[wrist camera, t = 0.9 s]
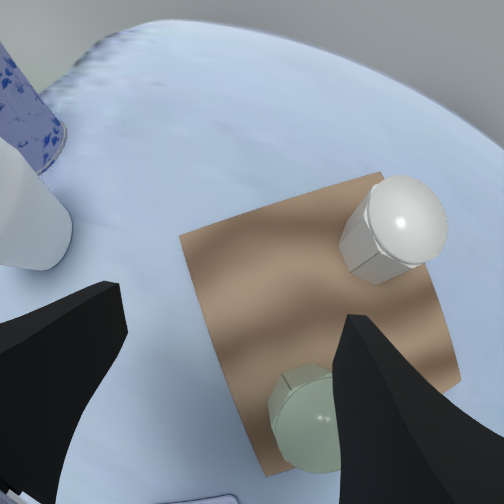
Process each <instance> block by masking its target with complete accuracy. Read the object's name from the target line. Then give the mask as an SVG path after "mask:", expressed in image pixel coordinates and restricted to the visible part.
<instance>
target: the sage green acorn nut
mask: <svg viewBox="0 0 504 504" xmlns="http://www.w3.org/2000/svg"><path fill="white" fill-rule="evenodd" d="M267 403H268V410H269V416H270V422H271V428H272V430H273V433H274V435H275V438H276V440H277V444H278V447H279V449H280V451H281V453H282V455H283V457H284V460H286V461H287V462H289V463H291V464H292V465H293V466H295V467H297V468H299V469H301V470H303V471H307V472H311V473H330V472H335V471H338V470H341V456H340V445H339V436H338V428H337V421H336V413H335V405H334V398H333V386H332V370H330V369H328V368H325V367H323V366H320V365H318V364H315V363H313V362H312V363H311V362H310V363H308V364H305V365H303V366H300V367H298V368H295V369H292V370H290V371H287V372H284V373H282V375H280V377H279V379H278V381H277V383H276V385H275V387H274V389H273V391H272V393H271V395H270V397H269V399H268V402H267Z"/></svg>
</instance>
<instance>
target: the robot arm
mask: <svg viewBox="0 0 504 504" xmlns="http://www.w3.org/2000/svg"><path fill="white" fill-rule="evenodd" d="M127 334H128V330H127V325H126V320H125V315H124V309H123V304H122V298H121V292H120V286H119V283H113V282H108V281H102V282H99V283H96V284H93V285H91V286H88V287H86V288H84V289H81V290H79V291H77V292H75V293H73V294H70V295H68V296H66V297H64V298H62V299H59V300H57V301H55V302H53V303H51V304H49V305H46V306H44V307H42V308H39V309H37V310H35V311H32V312H30V313H28V314H25V315H23V316H20V317H18V318H15V319H12V320H9V321H6V322H3V323H0V504H17V503H16V502H15V501H14V500H12V499H11V498H10V497H8V496H7V495H6V494H7V492H8V491H9V489H10V490H11V491H13V492H14V493H15V494H17V495H18V496H19V495H20V494H21V492H22V491H23V492H25V493H26V494H27V495H29V496H30V497H32V498H33V499H35V500H36V501H38V502H39V503H41V504H55V502H56V495H57V490H58V484H59V479H60V475H61V471H62V467H63V464H64V460H65V457H66V454H67V451H68V448H69V445H70V442H71V439H72V437H73V434H74V432H75V429H76V427H77V425H78V422H79V420H80V418H81V415H82V413H83V411H84V409H85V408H86V406H87V404H88V402H89V401H90V399H91V397H92V396H93V394H94V393H95V391H96V389H97V388H98V386H99V385H100V383H101V381H102V380H103V378H104V377H105V375H106V374H107V372H108V370H109V369H110V367H111V366H112V364H113V362H114V361H115V359H116V358H117V356H118V354H119V352H120V350H121V348H122V345H123V343H124V341H125V339H126V336H127ZM332 386H333V398H334V405H335V413H336V421H337V428H338V436H339V445H340V456H341V479H340V498H339V504H504V437H502V436H500V435H498V434H496V433H495V432H493V431H491V430H490V429H488V428H486V427H485V426H483V425H482V424H480V423H479V422H477V421H476V420H474V419H473V418H472V417H470V416H469V415H467V414H466V413H464V412H463V411H462V410H461V409H459V408H458V407H457V406H455V405H454V404H453V403H452V402H451V401H449V400H448V399H447V398H446V397H445V396H443V395H442V394H441V393H440V392H439V391H438V390H437V389H435V388H434V387H433V386H432V385H431V384H430V383H429V382H428V381H427V380H426V379H425V378H424V377H423V376H422V375H421V374H420V373H419V372H418V371H417V370H416V369H415V368H414V367H413V366H412V365H411V364H410V363H409V362H408V361H407V360H406V359H405V357H404V356H403V355H402V354H401V353H400V352H399V351H398V350H397V349H396V348H395V346H394V345H393V344H392V343H391V342H390V341H389V340H388V339H387V337H386V336H385V335H384V334H383V333H382V332H381V331H380V329H379V328H378V327H377V326H376V325H375V324H374V323H373V322H372V321H371V319H370V318H369V317H368V316H367V315H355V314H347V317H346V320H345V324H344V327H343V331H342V334H341V337H340V340H339V344H338V347H337V350H336V353H335V356H334V359H333V362H332ZM230 503H233V504H239V503H238V501H237V500H236V498H235V497H234V496H233V495H225V496H220V497H215V498H209V499H203V500H196V501H189V502H181V503H171V504H230Z"/></svg>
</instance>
